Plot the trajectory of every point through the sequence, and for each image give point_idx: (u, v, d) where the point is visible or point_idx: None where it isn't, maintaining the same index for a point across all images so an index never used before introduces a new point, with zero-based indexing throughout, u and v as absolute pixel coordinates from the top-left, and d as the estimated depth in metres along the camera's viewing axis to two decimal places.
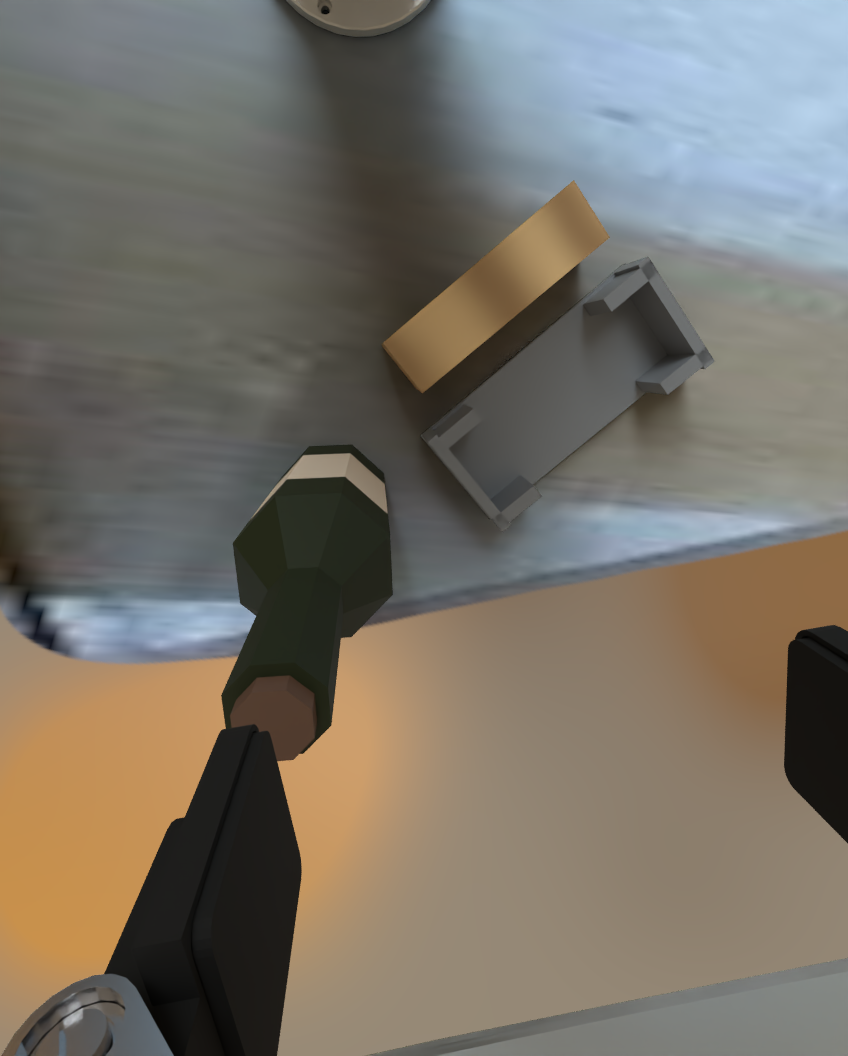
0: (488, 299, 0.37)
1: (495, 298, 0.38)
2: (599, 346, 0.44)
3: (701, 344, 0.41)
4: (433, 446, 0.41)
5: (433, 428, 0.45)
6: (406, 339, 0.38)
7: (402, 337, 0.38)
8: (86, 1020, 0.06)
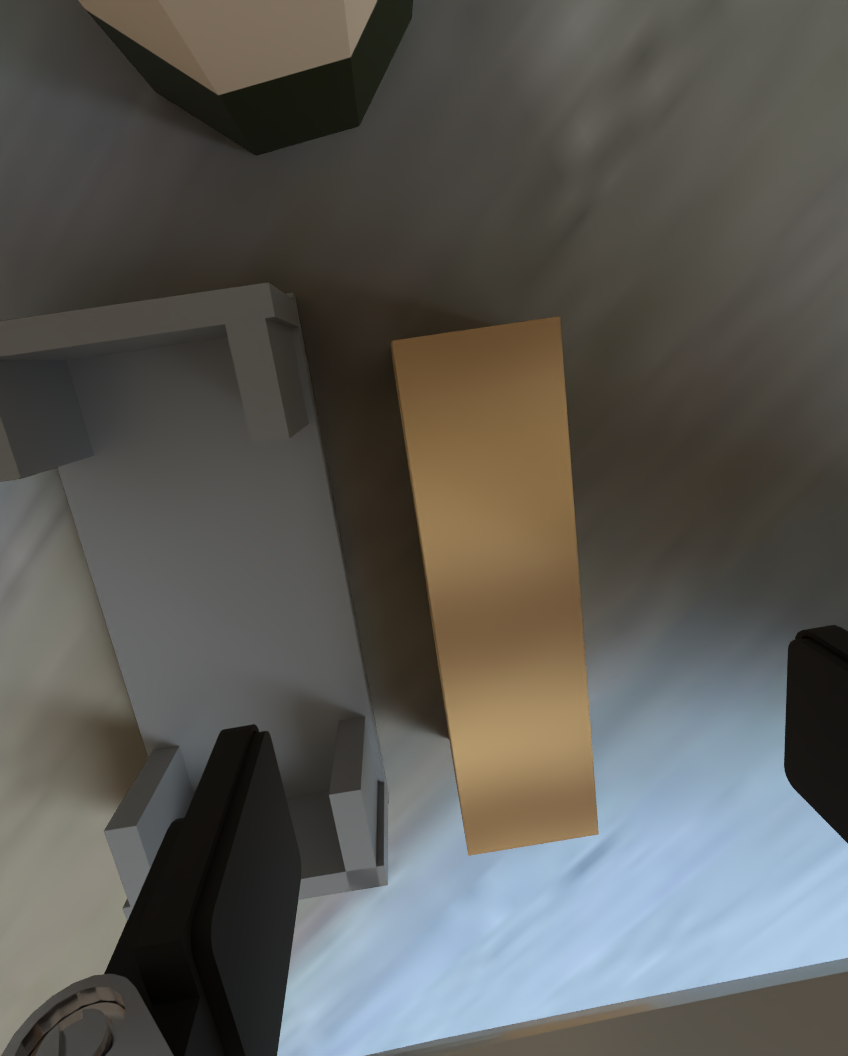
0: (501, 597, 0.16)
1: (494, 611, 0.16)
2: (277, 714, 0.22)
3: None
4: (249, 290, 0.15)
5: (294, 330, 0.19)
6: (532, 376, 0.14)
7: (541, 372, 0.14)
8: (85, 1020, 0.06)
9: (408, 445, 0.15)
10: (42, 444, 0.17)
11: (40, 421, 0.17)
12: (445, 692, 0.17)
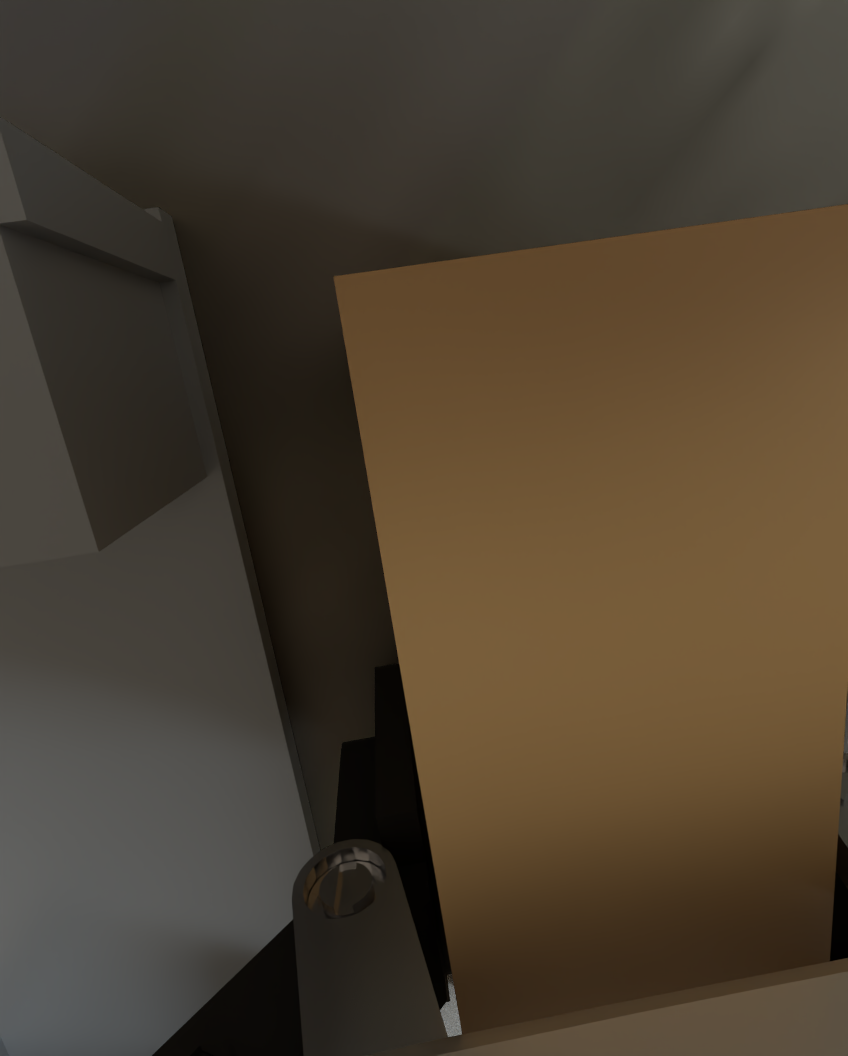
0: (635, 960, 0.06)
1: (614, 989, 0.06)
2: (173, 979, 0.13)
3: None
4: None
5: (168, 289, 0.09)
6: (771, 393, 0.05)
7: (800, 380, 0.05)
8: (358, 872, 0.07)
9: (391, 599, 0.05)
10: None
11: None
12: None
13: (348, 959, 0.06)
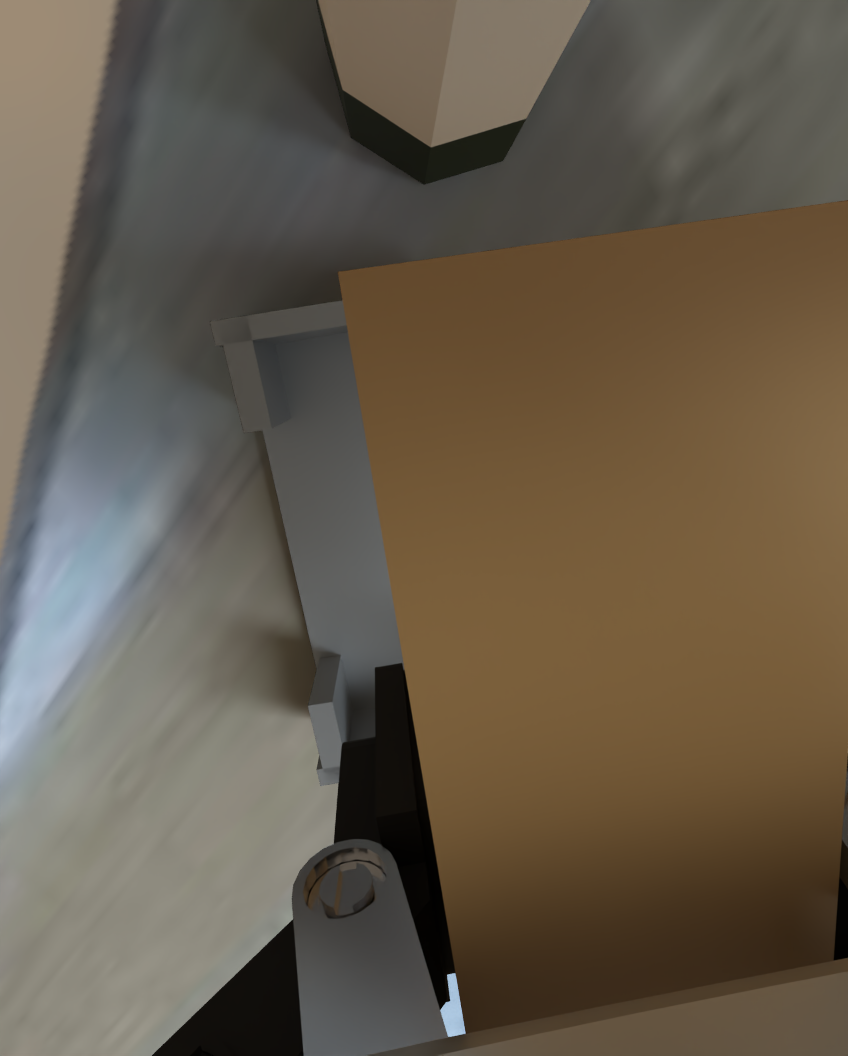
0: (639, 957, 0.06)
1: (618, 988, 0.06)
2: None
3: None
4: None
5: None
6: (777, 390, 0.05)
7: (806, 376, 0.05)
8: (358, 872, 0.07)
9: (395, 596, 0.05)
10: (275, 405, 0.22)
11: (272, 388, 0.22)
12: None
13: (348, 959, 0.06)
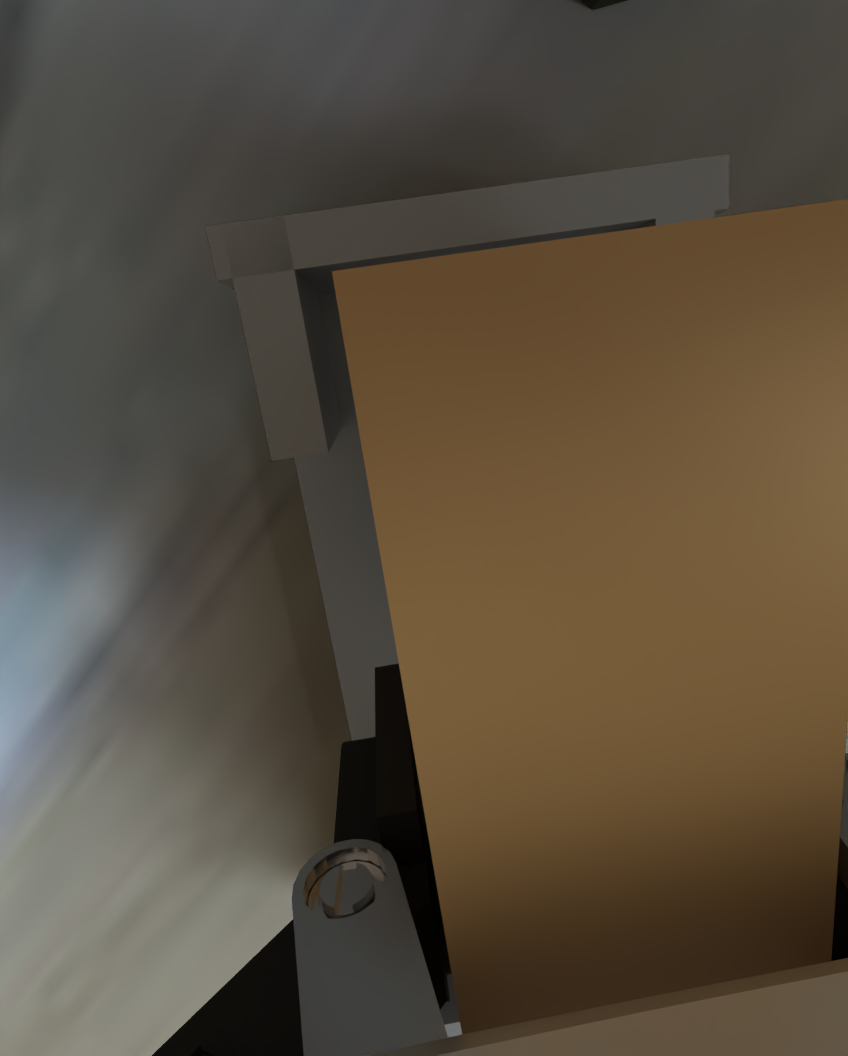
0: (636, 959, 0.06)
1: (615, 990, 0.06)
2: None
3: None
4: (701, 165, 0.10)
5: None
6: (773, 390, 0.05)
7: (803, 376, 0.05)
8: (357, 872, 0.07)
9: (390, 597, 0.05)
10: (327, 406, 0.12)
11: (322, 373, 0.12)
12: None
13: (348, 959, 0.06)
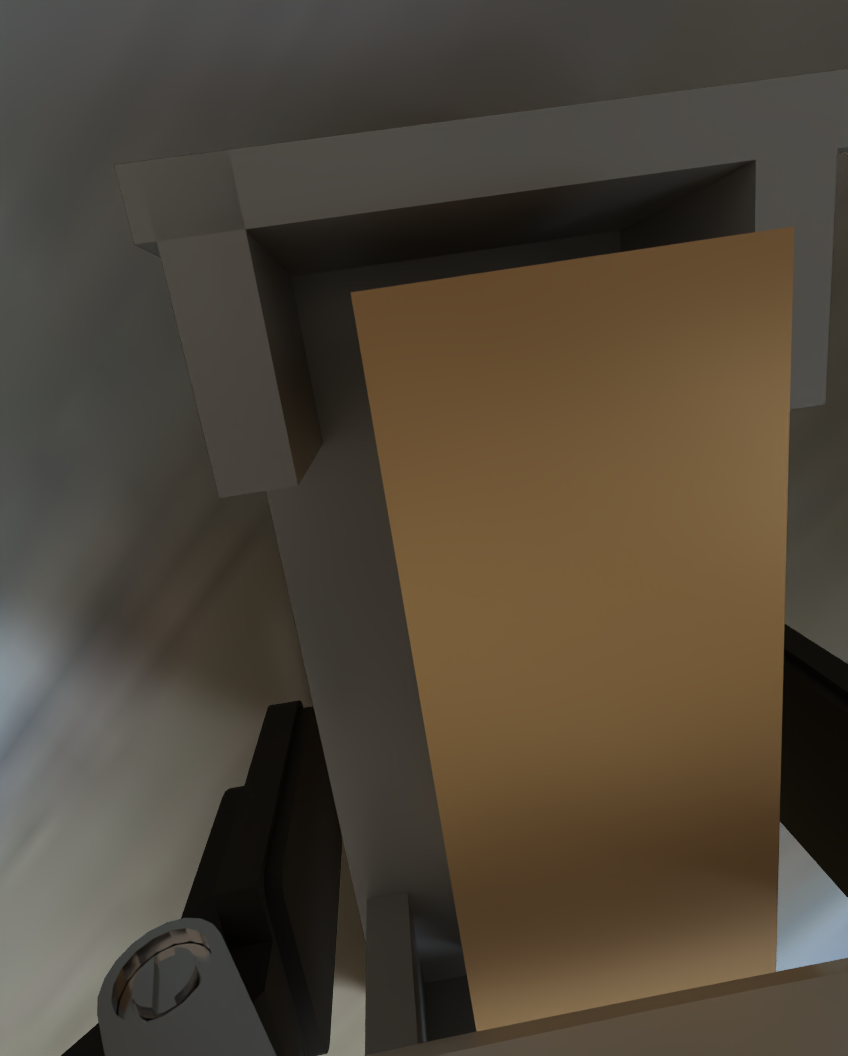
0: (609, 873, 0.07)
1: (592, 901, 0.07)
2: None
3: None
4: (823, 83, 0.07)
5: None
6: (711, 385, 0.06)
7: (735, 374, 0.06)
8: (177, 957, 0.06)
9: (398, 558, 0.06)
10: (299, 420, 0.09)
11: (293, 376, 0.09)
12: None
13: None
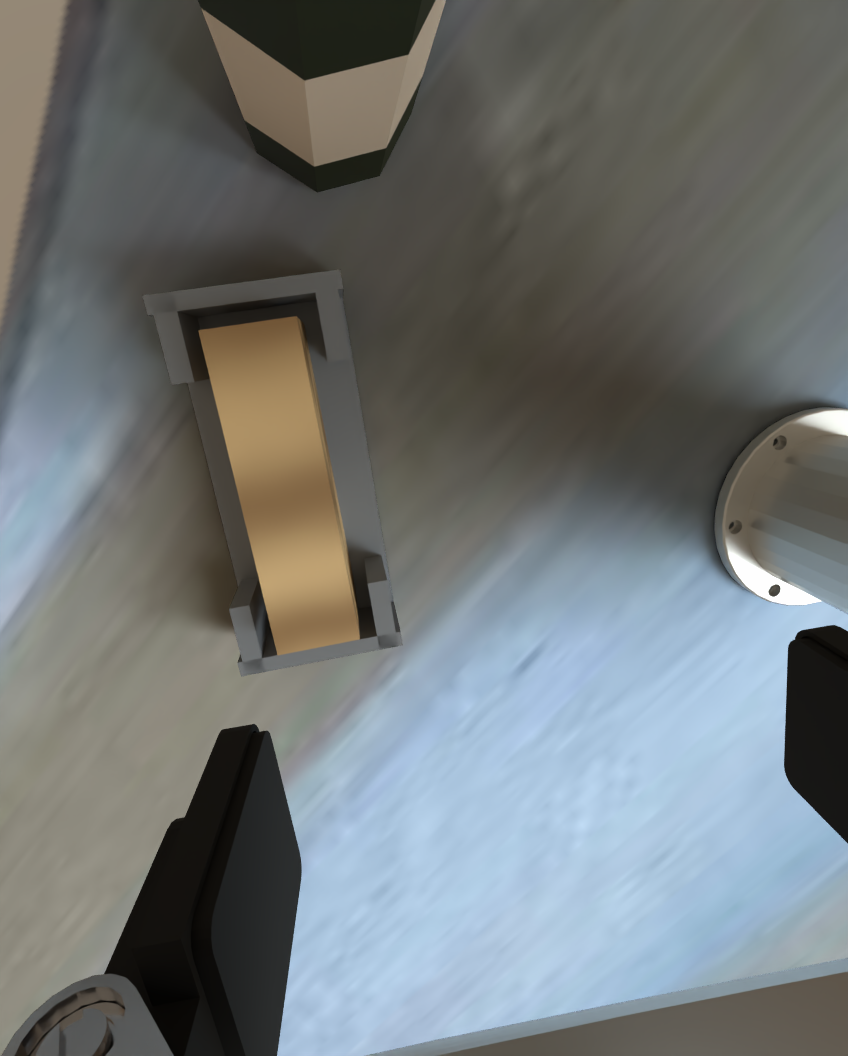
0: (280, 484, 0.27)
1: (276, 493, 0.27)
2: None
3: (270, 668, 0.31)
4: (329, 273, 0.26)
5: (340, 299, 0.30)
6: (283, 350, 0.25)
7: (289, 348, 0.25)
8: (86, 1020, 0.06)
9: (214, 392, 0.25)
10: (197, 365, 0.28)
11: (195, 351, 0.28)
12: (251, 545, 0.27)
13: None
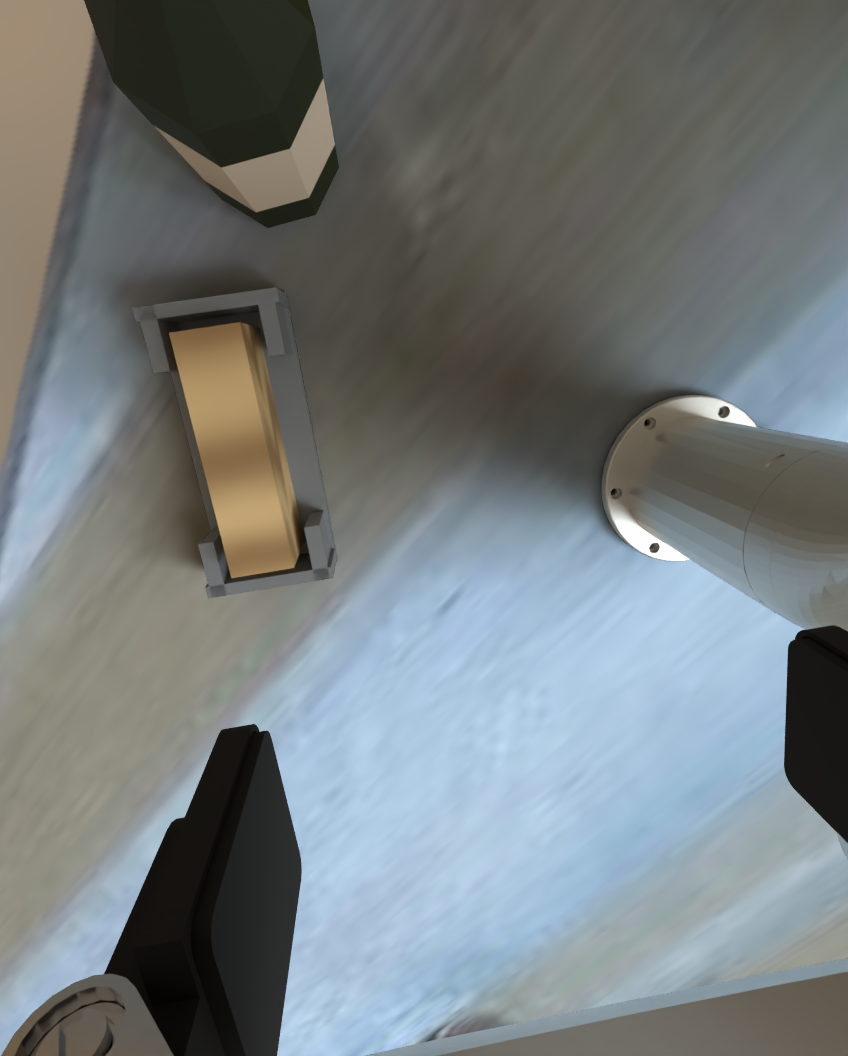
0: (230, 446, 0.36)
1: (228, 453, 0.36)
2: None
3: (230, 592, 0.40)
4: (268, 290, 0.35)
5: (286, 309, 0.40)
6: (231, 347, 0.34)
7: (234, 345, 0.34)
8: (86, 1020, 0.06)
9: (180, 377, 0.34)
10: (174, 358, 0.37)
11: None
12: (210, 492, 0.36)
13: None
